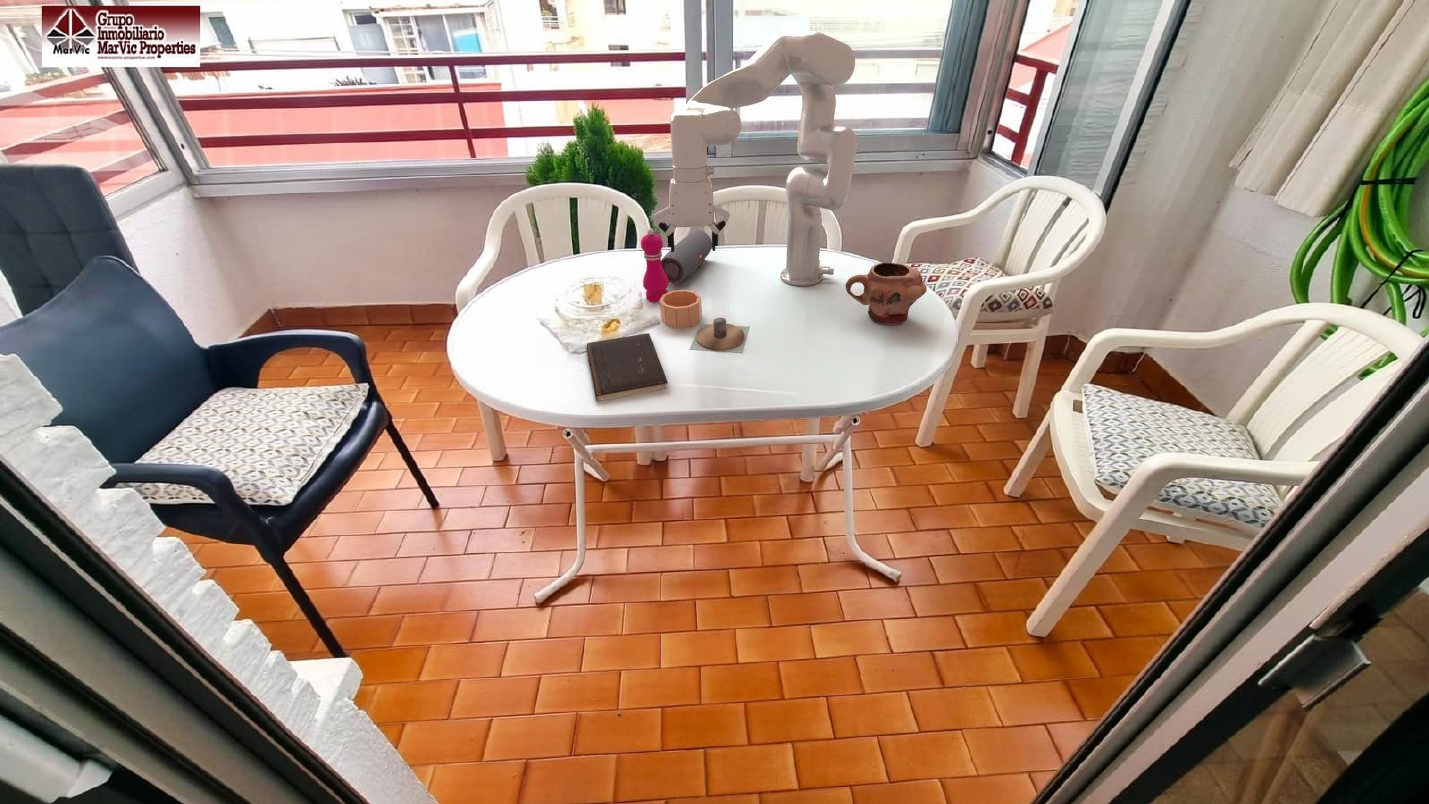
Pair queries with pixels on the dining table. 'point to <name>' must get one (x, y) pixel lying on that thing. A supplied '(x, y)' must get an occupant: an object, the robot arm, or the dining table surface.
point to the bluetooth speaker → (686, 256)
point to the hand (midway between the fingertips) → (693, 249)
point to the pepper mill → (654, 267)
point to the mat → (736, 349)
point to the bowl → (681, 308)
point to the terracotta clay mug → (889, 291)
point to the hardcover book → (625, 366)
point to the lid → (720, 335)
